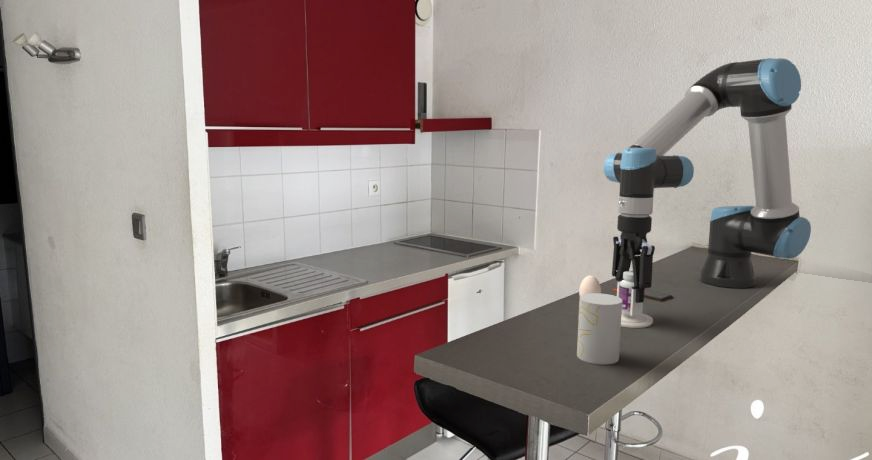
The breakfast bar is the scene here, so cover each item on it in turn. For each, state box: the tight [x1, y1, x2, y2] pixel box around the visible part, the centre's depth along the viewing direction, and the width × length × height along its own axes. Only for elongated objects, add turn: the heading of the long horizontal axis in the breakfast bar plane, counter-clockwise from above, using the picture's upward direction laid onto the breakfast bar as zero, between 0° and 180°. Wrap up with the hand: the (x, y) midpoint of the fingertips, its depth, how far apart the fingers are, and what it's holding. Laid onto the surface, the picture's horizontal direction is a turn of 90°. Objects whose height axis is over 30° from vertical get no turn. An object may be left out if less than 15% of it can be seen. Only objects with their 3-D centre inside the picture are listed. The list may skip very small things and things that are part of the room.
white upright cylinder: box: [576, 292, 622, 365], centre depth 119 cm, size 8×8×12 cm
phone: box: [612, 287, 674, 303], centre depth 166 cm, size 6×1×15 cm
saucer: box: [621, 312, 654, 329], centre depth 143 cm, size 11×11×1 cm
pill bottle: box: [619, 270, 634, 315], centre depth 142 cm, size 5×5×10 cm
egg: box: [578, 275, 602, 297], centre depth 155 cm, size 6×6×8 cm
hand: (628, 311), depth 143 cm, fingers closed on pill bottle, 5 cm apart
